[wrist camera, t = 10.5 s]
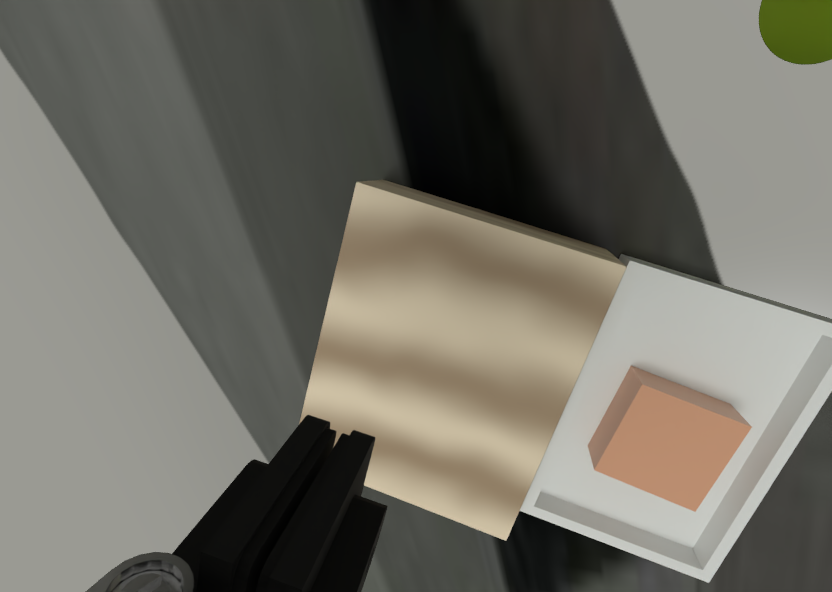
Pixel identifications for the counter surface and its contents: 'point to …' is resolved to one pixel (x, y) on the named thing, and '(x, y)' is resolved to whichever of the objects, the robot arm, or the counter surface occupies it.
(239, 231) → the counter surface
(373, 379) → the birch board
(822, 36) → the soap dispenser
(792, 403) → the box
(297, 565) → the robot arm
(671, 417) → the terracotta tile
